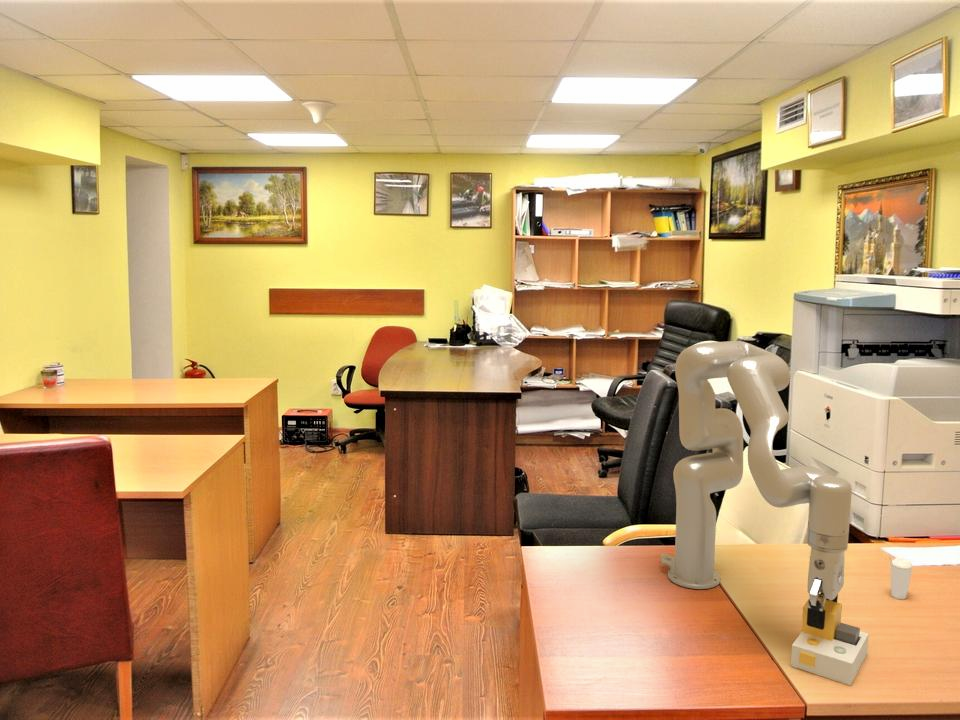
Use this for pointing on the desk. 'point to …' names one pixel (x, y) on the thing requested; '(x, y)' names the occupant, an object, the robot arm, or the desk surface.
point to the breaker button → (847, 634)
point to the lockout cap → (831, 620)
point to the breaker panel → (829, 656)
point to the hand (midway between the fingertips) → (821, 617)
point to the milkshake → (900, 577)
